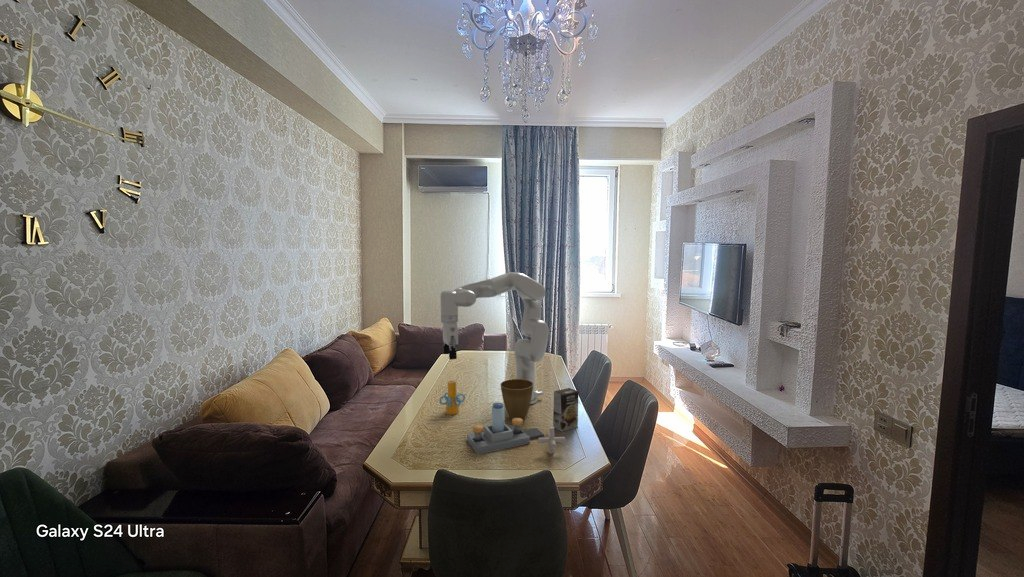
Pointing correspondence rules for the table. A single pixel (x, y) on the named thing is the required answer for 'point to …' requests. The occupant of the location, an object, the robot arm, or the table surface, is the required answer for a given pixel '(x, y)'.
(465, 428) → the table surface
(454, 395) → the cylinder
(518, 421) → the light orange ball
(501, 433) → the housing
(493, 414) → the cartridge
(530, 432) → the mat
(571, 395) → the coffee box
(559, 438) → the pipe connector
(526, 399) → the plant pot
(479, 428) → the orange rounded knob
